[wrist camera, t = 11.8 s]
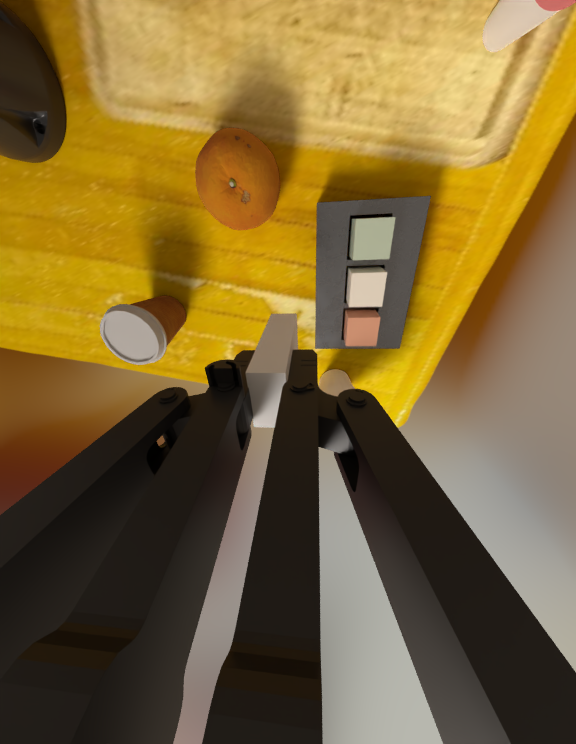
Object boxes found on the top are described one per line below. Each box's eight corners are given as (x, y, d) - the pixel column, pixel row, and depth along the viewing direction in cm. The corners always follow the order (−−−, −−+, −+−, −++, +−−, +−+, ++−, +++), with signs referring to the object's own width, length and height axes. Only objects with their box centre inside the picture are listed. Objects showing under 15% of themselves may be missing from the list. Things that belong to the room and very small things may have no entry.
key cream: (347, 266, 38) (351, 273, 34) (379, 265, 38) (387, 272, 33) (345, 297, 40) (348, 307, 36) (375, 296, 40) (382, 306, 36)
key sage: (351, 218, 35) (356, 219, 31) (385, 216, 34) (395, 217, 30) (348, 255, 37) (352, 260, 33) (380, 253, 37) (389, 259, 33)
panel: (316, 203, 36) (317, 202, 33) (419, 197, 35) (430, 195, 31) (315, 338, 47) (315, 348, 44) (393, 338, 46) (399, 348, 42)
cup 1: (358, 355, 48) (372, 399, 37) (362, 398, 53) (375, 448, 42) (304, 363, 50) (301, 407, 39) (313, 404, 55) (313, 453, 44)
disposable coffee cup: (167, 275, 43) (123, 293, 33) (205, 320, 47) (175, 349, 37) (133, 303, 47) (83, 328, 37) (171, 344, 51) (134, 376, 40)
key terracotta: (344, 307, 41) (348, 317, 37) (373, 306, 41) (380, 317, 37) (342, 333, 44) (345, 346, 40) (370, 333, 43) (376, 346, 39)
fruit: (248, 245, 40) (235, 251, 33) (195, 184, 36) (167, 177, 30) (298, 189, 36) (294, 183, 29) (243, 114, 32) (223, 87, 25)
